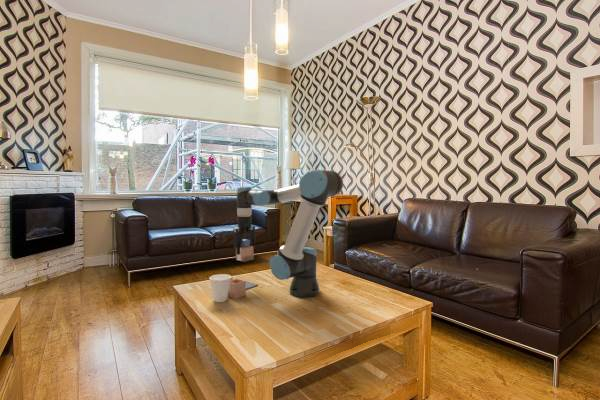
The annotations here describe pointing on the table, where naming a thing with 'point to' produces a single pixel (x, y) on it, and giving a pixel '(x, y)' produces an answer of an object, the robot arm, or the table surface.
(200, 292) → the table surface
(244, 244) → the blue rectangular block
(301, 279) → the robot arm
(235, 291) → the pot
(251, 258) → the pot
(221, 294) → the cup
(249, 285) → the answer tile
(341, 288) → the table surface
